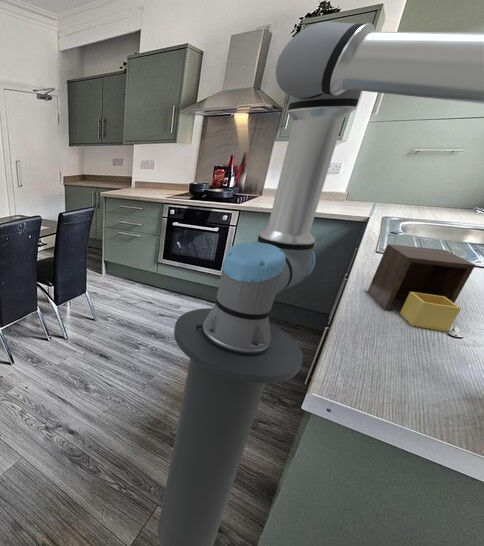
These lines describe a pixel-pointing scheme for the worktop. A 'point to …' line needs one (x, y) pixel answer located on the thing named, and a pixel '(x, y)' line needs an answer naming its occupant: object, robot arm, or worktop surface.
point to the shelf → (418, 274)
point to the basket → (429, 311)
